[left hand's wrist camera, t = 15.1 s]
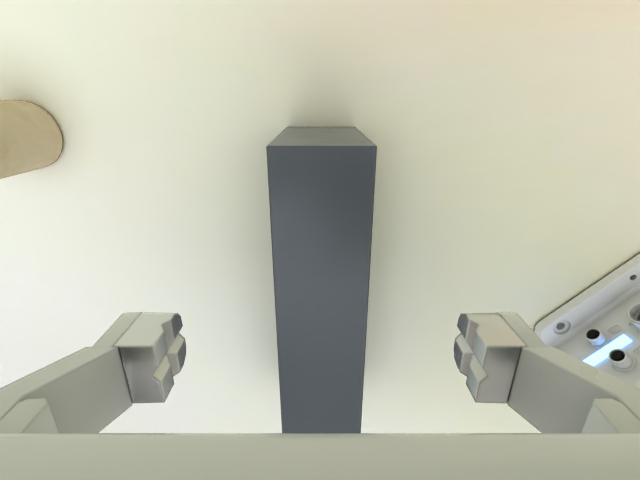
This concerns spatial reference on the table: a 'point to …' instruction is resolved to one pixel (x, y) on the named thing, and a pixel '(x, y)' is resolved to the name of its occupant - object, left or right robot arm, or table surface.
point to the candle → (26, 138)
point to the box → (321, 272)
